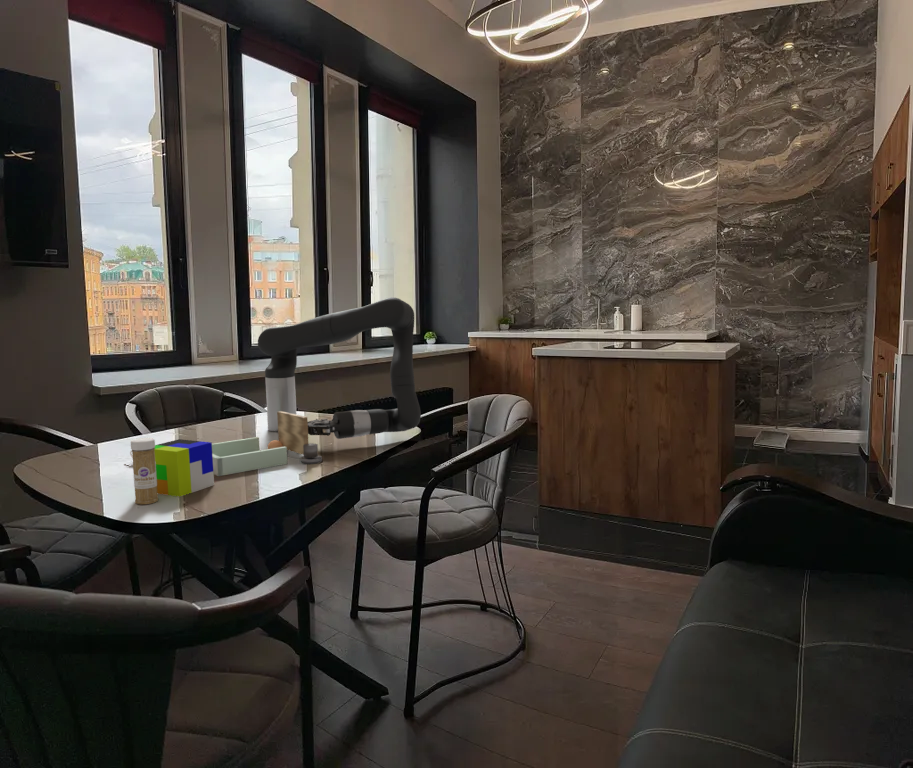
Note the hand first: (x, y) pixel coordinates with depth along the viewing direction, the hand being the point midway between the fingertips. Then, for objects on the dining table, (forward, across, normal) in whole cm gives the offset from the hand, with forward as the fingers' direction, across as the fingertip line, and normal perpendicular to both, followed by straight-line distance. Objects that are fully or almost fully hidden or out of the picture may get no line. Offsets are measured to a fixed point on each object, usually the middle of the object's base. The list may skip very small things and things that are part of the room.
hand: (290, 430), depth 183 cm
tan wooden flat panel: (0, +4, +5) cm, 7 cm away
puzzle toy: (+30, +21, +7) cm, 37 cm away
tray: (+14, +4, +6) cm, 16 cm away
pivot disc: (-2, +11, +6) cm, 13 cm away
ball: (+4, -2, +4) cm, 6 cm away
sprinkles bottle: (+37, +29, +6) cm, 48 cm away
